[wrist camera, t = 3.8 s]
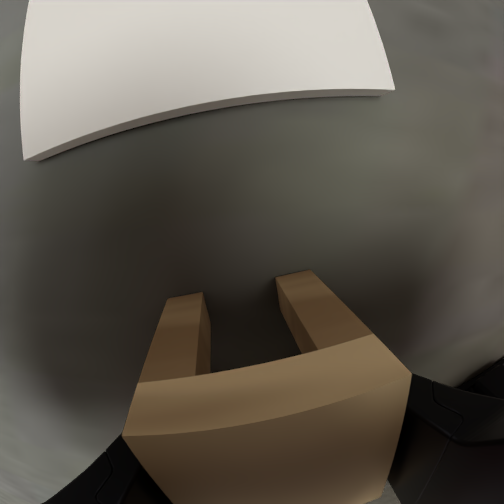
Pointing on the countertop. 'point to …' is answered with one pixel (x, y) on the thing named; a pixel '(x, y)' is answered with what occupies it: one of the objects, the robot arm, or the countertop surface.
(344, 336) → the mini stool
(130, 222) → the countertop surface
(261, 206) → the countertop surface
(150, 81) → the board
